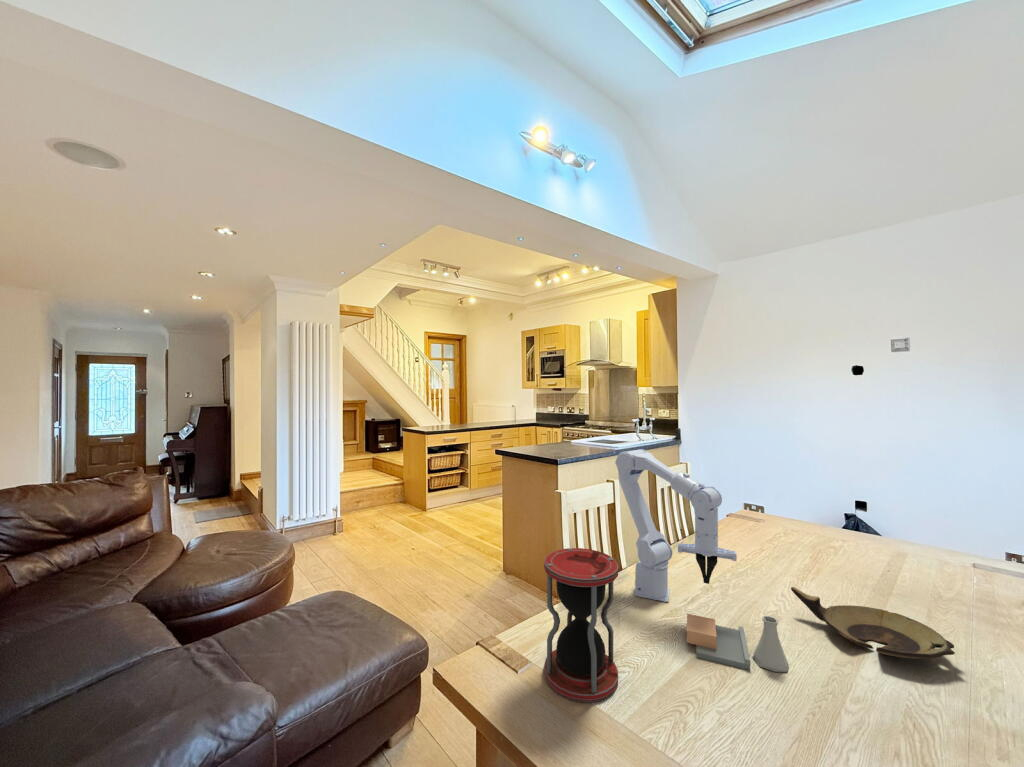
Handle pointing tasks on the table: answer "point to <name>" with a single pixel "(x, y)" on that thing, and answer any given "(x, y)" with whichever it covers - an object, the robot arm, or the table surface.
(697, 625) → the slab
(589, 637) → the hourglass
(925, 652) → the oil lamp
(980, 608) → the table surface
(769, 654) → the flask
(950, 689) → the table surface
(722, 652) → the grey tray
